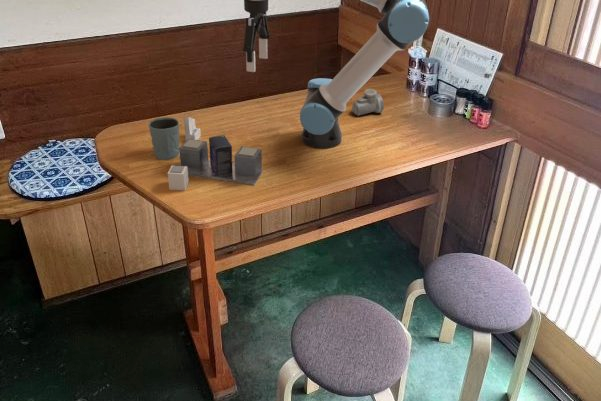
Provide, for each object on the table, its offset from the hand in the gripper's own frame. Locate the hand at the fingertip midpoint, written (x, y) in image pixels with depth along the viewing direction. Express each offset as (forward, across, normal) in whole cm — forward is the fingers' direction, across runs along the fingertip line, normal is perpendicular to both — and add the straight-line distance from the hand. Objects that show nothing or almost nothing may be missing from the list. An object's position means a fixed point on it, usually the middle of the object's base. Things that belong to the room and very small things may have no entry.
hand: (257, 64), depth 183 cm
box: (+31, +19, -7) cm, 37 cm away
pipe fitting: (+32, -44, +33) cm, 64 cm away
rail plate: (+32, +19, -7) cm, 38 cm away
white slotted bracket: (+32, -2, -26) cm, 41 cm away
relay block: (+32, +31, -17) cm, 48 cm away
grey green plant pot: (+32, +12, -30) cm, 45 cm away
